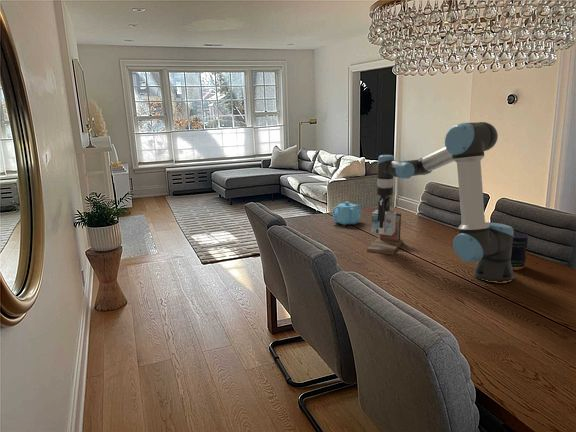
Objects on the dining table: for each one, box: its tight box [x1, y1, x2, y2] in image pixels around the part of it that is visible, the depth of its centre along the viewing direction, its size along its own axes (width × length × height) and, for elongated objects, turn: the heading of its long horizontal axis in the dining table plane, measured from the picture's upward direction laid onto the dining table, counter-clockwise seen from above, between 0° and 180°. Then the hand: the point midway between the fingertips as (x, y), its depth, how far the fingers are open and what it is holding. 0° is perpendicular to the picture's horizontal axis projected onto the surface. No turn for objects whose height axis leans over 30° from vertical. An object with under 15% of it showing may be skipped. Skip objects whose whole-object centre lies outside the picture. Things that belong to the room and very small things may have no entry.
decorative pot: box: [331, 201, 362, 226], centre depth 275 cm, size 16×16×14 cm
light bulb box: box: [370, 209, 396, 236], centre depth 222 cm, size 11×7×11 cm, turn 62°
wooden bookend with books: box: [366, 213, 404, 256], centre depth 228 cm, size 22×13×16 cm, turn 153°
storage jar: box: [511, 231, 529, 267], centre depth 197 cm, size 10×10×15 cm
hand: (383, 231), depth 224 cm, fingers closed on light bulb box, 7 cm apart
